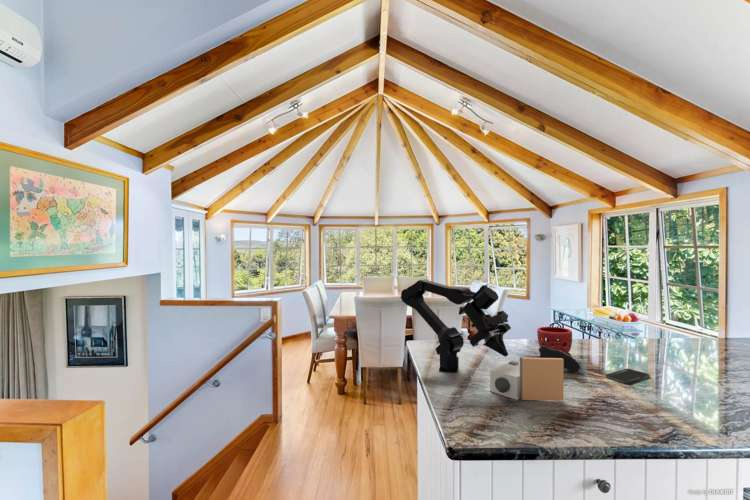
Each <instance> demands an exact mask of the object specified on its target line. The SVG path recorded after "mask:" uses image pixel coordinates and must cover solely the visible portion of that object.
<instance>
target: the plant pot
mask: <svg viewBox="0 0 750 500" xmlns="http://www.w3.org/2000/svg"><path fill="white" fill-rule="evenodd" d="M536 331H537V332H536V334H537V343H538V345H539V347H540V346H543V345H544V346H546V347H548V348H552V349H557V350H560V351H562V352H564V353H566V354H568V355H570V356H572V354H571V353H570V351H571V349H572V345H573V332H572V331H573V330H572V329H569V328H565V327H559V326H558V327H557V326H541V327H538V328H537V330H536Z"/></svg>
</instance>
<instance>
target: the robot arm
mask: <svg viewBox="0 0 750 500" xmlns="http://www.w3.org/2000/svg"><path fill="white" fill-rule="evenodd" d="M426 292H428V293H431V294H433V295H434V294H435V295H438V296H441V297H443V298H446V299H447V300H448V302H449V301H450V302H451V303H453V304H455V305H463V304H465V305H463V306H459V309H458V315H459V316H461V315H466V317H467V318H468V320H469V321H470V322H471V325H470V326H471V328H475V329H476V330H477V331H476V332H475V333H474V334H473V335H472V336H471V337H470V338H469V344H470V345H471V346H472V348H474V347H477V346H478V345H479V343H480V342H481V341H483V340H484V343H483V344H482V346H485V347H487V348H489V349H491V350H493V351H495V352H497V353H498V354H499V355H501V356H503V357H507V356H509V353H508V350H507V348H506V344H505V342H504V339H503V338H504V335H505V334H507V332H508V331H510V330H511V329H512V327H511V325H509V323H508V322H509V320H508V318H509V314H507V312H505V311H504V310H500V311H497V313H496V315H493V316H492V315H491V314H489V313H488V314H486V312H484V310H488V309H490V307H491V306H492V305H493V304H494V303H496V301H498V300H499V294H498V293H497V292H496V291H495V290H493V288H491V287H488V285H487V284H482V285H481V286H480V288H479V289H478V290H477V291H472V290H471V289H470V288H469V287H462V286H449V285H447V284H446V285H445V284H442V283H439V282H436V281H431V280H429V279H427V278H426V279H425V278H424V279H419V280H417V281H416V282H415V283H413V284H412V285H410V286H408V287H407V288H404V289H402V291H401V293H400V299H401V301H402V302H403V303H404V304H405V305H406V306H408V307H410V308H412V309H413V310H415V311H416V312H417V313H418V315H420V317H421V318H422V319H423V320H424V322H425V323H427V325H428V326H429V327H430V328H431V329H432V331H433V332H434V333H435V334H436V335H437V340H438V343H439V344H438V345H437V347H436V348H435V353H436V354H437V355H438V356H439V369H438V371H440V372H448V373H457V372H458V370H459V367H460V366H459V363H460V361H459V360H460V358H459V356H458V353H460V352H461V349H462V348H463V347H464V343H465V342H464V341H465V340H464V338H463V336H462V335H463V334H462V333H461V332H459V331H458V329H457V328H456V327H455V326H454V327H449V326H447V325H446V324H445V323H444V321H442V319H440V317H439V316H438V315H437V314H436V312H435V311H434V310H432V308H430V306H429V305H428V304H427V303H426V301H425V299H424V295H425V293H426Z"/></svg>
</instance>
